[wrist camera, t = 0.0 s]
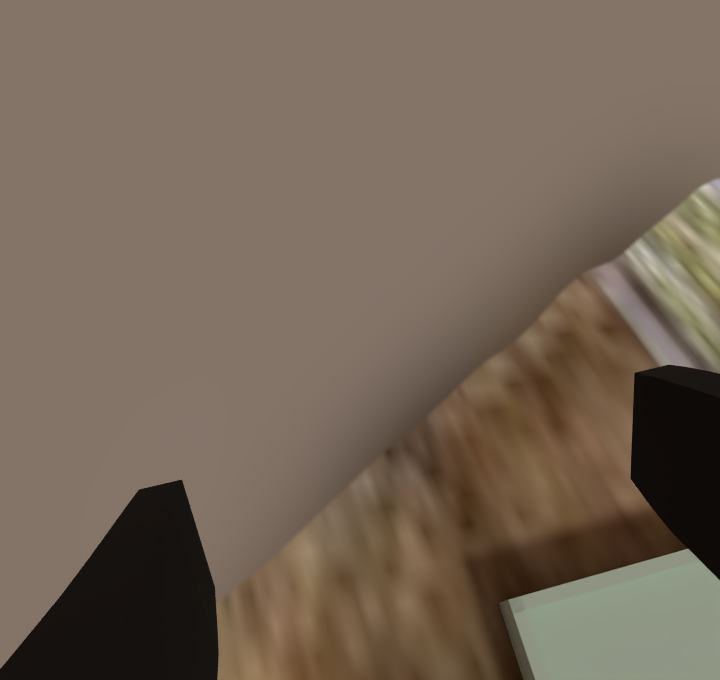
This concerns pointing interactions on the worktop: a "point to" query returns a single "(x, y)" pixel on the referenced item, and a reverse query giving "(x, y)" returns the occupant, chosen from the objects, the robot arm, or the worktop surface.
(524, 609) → the box
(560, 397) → the worktop surface
